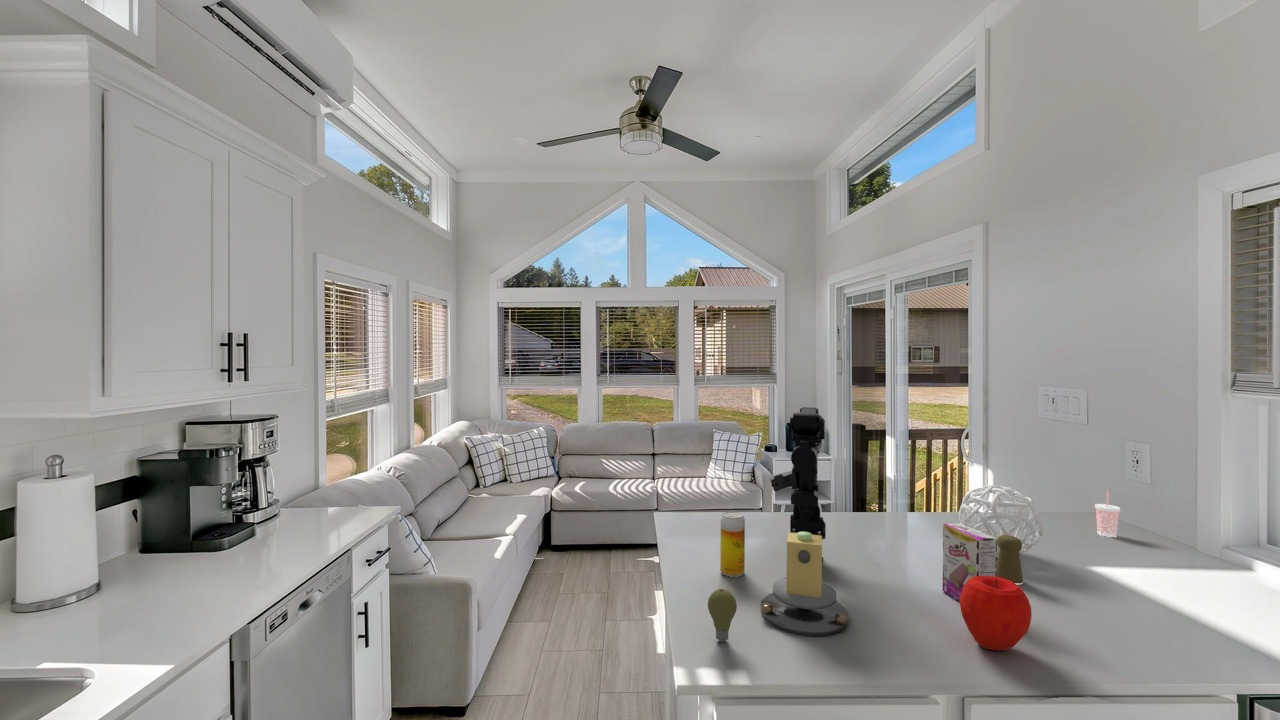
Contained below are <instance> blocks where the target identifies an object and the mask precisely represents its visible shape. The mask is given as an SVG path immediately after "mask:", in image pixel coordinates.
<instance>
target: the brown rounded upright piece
mask: <svg viewBox="0 0 1280 720" xmlns="http://www.w3.org/2000/svg"><path fill="white" fill-rule="evenodd" d="M997 545H998V547H999V548H1000V549H999V553H998V554H997V555H998V558H997V559H996V577H1000V578H1004V579H1007V580H1010V581H1012V582H1014V583H1022V582H1023V583H1024V578H1023V577H1024V576H1023V572H1022V563H1021V554H1019V551H1020V550H1021V549H1022V542H1021V540H1020V539H1019V537H1018V538H1017V537H1014V535H1012V536H1010V535H1001V536H999V537H998V539H997Z"/></svg>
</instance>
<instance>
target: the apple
mask: <svg viewBox="0 0 1280 720" xmlns="http://www.w3.org/2000/svg"><path fill="white" fill-rule="evenodd" d="M958 602H959V601H958ZM959 608H960V613H961V616H962V619H963V621H964V623H965V625H966V627H967V630H968V631H969V633H970V635H971V637H973V639H974V640H975V642H976V643H977V644H978V645H979V646H981V647H983V649H986V650H987V649H988V650H992V651H1008V650H1010V649H1012V648H1013V647H1015V646H1016V645H1017V644H1018V643H1019V642H1020V640H1022V639H1023V638H1024V637H1025V636H1026V634H1027V633H1028V630H1029V629H1030V626H1031V621H1032V606H1031V604H1030V600H1029V598H1028V596H1027V595H1026V592H1025V591H1024V590H1023V588H1022V586H1020V585H1016V584H1015V583H1014V582H1012V581H1010V580H1007V579H1004V578H1000V577H994V576H975V577H971V578H970V579H969V580H968V581H967V582H966V583H965V585H964V587H963V590H962V592H961V595H960V602H959Z"/></svg>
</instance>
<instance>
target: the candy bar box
mask: <svg viewBox="0 0 1280 720" xmlns="http://www.w3.org/2000/svg"><path fill="white" fill-rule="evenodd" d="M942 531H943V532H942V533H943V535H942V541H943V542H942V544H943V545H942V592H943V591H944V592H945V594H946V593H947V594H946V595H948V594H949V595H950V596H949V595H948V596H949V597H951V596H952V597H951V598H953V597H954V598H956V599H957V600H959V601H960V595H961V592H962V590H963V587H964V585H965V583H966V582H967V581H968V580H969V579H970V578H971V577H975V576H994V577H996V566H997V558H996V555H998V554H997V539H996V538H995V537H992V536H990V535H987V534H985V533H983V532H980V531H978V530H976V529H974V527H971V526H969V525H964V524H962V523H960V522H950V523H948V522H946V523H943V530H942ZM944 592H943V593H944ZM954 598H953V599H954ZM956 599H955V600H956ZM957 600H956V601H957ZM959 601H958V602H959Z"/></svg>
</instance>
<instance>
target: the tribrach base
mask: <svg viewBox="0 0 1280 720" xmlns="http://www.w3.org/2000/svg"><path fill="white" fill-rule="evenodd" d="M760 614H761V616H762V618H763V619H764V620H765V621H766V622H767V623H768V624H769V625H771V626H773V627H774V628H776V629H778V630H780V631H783V632H786V633H789V634H794V635H795V636H798V635H799V636H802V637H813V638H822V637H823V638H824V637H831V636H835V635H836V636H837V635H839V634H840V633H843V632H844V631H846V630H847V628H848V627H849V620H850V619H849V617H850V616H849V615H850V614H849V611H848V610H847V609H846V607H845V606H844V605H843V604H841V603H840V602H839V601H838V600H836V602H835V604H834V605H832V606H830V607H828V608H824V609H816V610H811V609H801V608H796V607H793V606H790V605H787V604H785V603H783V602H781V601H779V600H778V599H777V598H776V597H775V596H774V595H773V592H770V593H768V594H767V595H765V596H764V597H762V599H761V601H760Z"/></svg>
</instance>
